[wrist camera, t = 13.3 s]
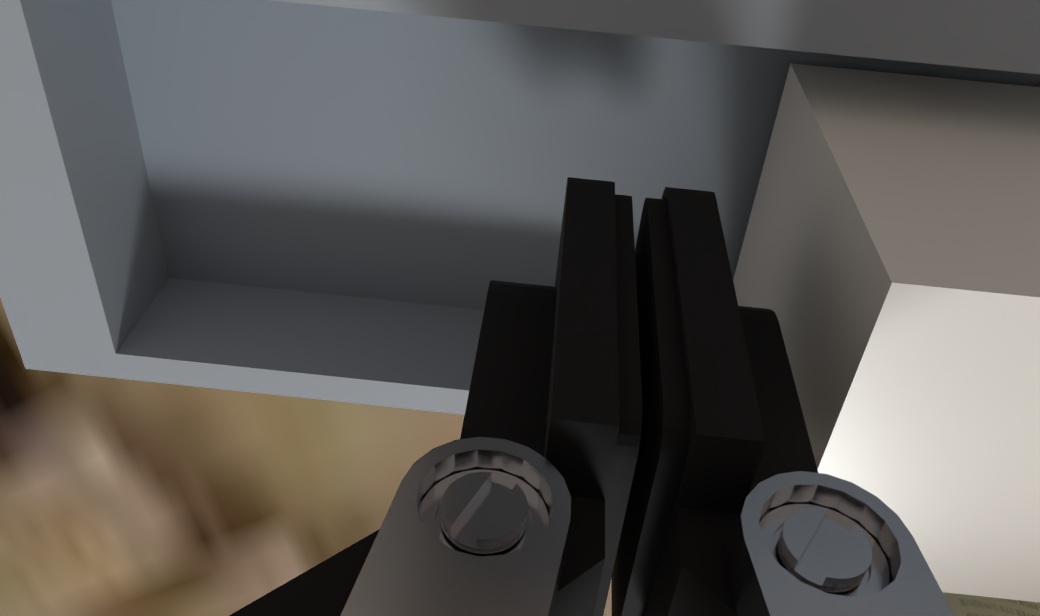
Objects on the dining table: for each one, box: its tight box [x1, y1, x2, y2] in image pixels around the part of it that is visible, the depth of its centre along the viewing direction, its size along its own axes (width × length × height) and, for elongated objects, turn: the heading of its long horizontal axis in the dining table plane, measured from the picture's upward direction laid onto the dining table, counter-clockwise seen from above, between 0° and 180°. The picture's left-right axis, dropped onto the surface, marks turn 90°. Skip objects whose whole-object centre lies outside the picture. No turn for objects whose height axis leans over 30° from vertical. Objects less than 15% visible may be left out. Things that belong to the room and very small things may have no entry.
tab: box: [733, 63, 1040, 602], centre depth 11 cm, size 4×4×5 cm
